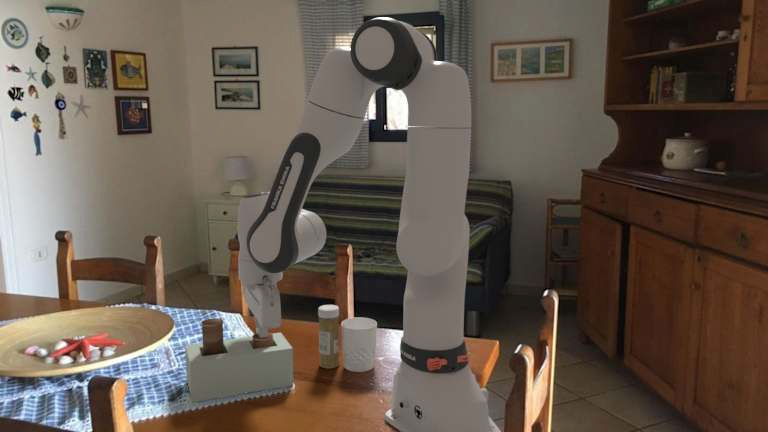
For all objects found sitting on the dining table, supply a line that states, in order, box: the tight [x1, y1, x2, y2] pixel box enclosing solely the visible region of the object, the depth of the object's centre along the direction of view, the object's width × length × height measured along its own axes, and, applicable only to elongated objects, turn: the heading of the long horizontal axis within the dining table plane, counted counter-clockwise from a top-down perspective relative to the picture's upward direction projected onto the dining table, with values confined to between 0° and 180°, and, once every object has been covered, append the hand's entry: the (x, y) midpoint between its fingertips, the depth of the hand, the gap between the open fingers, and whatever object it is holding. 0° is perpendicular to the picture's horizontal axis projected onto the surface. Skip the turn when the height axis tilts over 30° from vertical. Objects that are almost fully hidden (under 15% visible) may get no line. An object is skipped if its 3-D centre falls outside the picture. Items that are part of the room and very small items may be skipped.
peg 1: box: [201, 317, 224, 356], centre depth 122 cm, size 4×4×7 cm
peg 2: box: [252, 332, 273, 349], centre depth 126 cm, size 4×4×7 cm
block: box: [184, 331, 294, 403], centre depth 125 cm, size 10×20×8 cm, turn 113°
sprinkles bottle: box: [317, 304, 340, 369], centre depth 134 cm, size 5×5×14 cm
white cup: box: [340, 316, 378, 373], centre depth 134 cm, size 8×8×10 cm
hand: (261, 335), depth 126 cm, fingers closed
